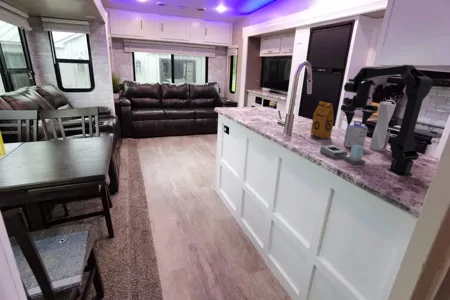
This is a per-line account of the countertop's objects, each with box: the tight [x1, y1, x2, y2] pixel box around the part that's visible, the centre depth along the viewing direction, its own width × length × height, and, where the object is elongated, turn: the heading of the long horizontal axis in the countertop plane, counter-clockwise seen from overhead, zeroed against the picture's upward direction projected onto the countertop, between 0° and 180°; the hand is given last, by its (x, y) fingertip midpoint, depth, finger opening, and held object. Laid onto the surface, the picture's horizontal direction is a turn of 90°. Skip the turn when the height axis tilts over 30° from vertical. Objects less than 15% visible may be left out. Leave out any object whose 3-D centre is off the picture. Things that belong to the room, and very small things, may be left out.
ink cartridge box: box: [343, 120, 369, 148], centre depth 133 cm, size 10×6×14 cm, turn 72°
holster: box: [343, 156, 366, 166], centre depth 111 cm, size 6×6×2 cm
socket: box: [319, 144, 348, 159], centre depth 120 cm, size 10×8×3 cm
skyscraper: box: [369, 99, 397, 152], centre depth 128 cm, size 8×8×28 cm
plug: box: [348, 145, 365, 161], centre depth 110 cm, size 4×4×8 cm
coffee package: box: [310, 100, 335, 139], centre depth 149 cm, size 10×12×22 cm
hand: (355, 124), depth 122 cm, fingers open, 9 cm apart
